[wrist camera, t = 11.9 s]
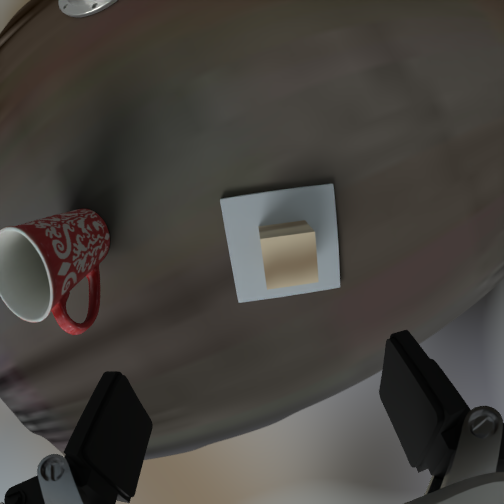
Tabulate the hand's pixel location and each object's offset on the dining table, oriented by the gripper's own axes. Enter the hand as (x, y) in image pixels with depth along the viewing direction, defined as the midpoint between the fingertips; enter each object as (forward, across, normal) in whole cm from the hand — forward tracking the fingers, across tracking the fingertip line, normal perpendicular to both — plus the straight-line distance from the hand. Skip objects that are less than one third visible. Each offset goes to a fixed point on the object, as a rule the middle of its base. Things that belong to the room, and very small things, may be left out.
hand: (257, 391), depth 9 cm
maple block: (+23, -3, +3) cm, 23 cm away
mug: (+24, +20, -1) cm, 31 cm away
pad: (+24, -3, +3) cm, 24 cm away
